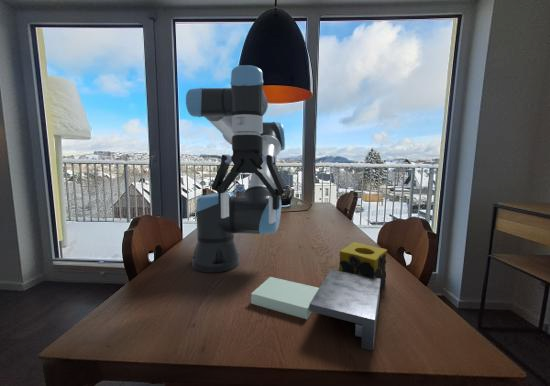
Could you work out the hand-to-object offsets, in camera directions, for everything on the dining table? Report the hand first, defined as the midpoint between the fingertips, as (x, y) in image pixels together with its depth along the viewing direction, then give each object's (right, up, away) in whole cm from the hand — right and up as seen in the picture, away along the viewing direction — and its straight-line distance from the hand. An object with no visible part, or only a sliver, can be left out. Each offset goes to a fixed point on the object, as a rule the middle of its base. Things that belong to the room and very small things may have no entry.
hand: (247, 219), depth 67 cm
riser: (+23, -20, -9) cm, 32 cm away
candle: (+31, -19, +6) cm, 37 cm away
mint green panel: (+10, -20, -3) cm, 22 cm away
